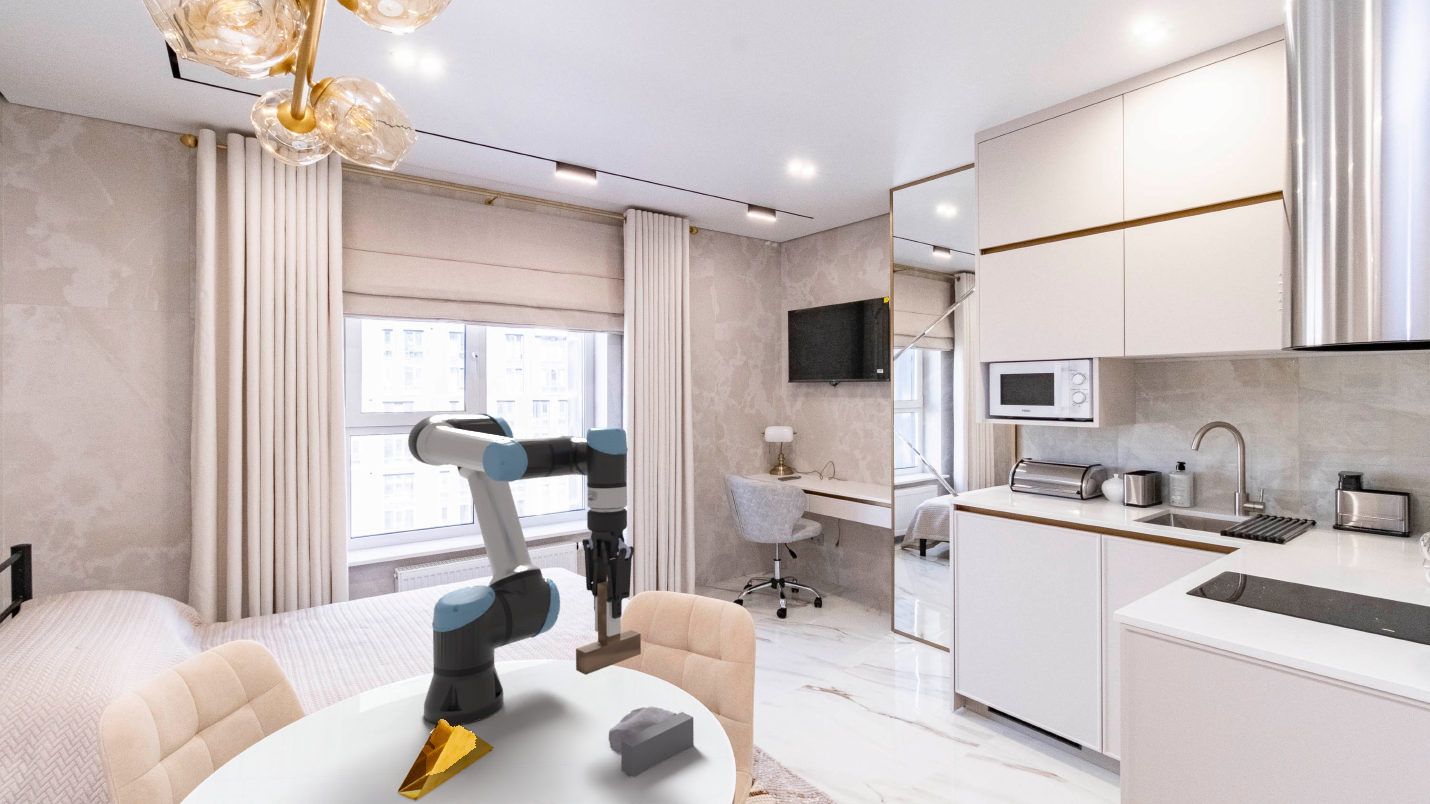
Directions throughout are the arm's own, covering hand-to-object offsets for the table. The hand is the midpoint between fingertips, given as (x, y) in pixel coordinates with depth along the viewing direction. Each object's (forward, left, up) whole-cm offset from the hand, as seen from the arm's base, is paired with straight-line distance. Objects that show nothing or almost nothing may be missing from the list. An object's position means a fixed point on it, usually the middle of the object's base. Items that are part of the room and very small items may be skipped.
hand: (607, 631), depth 122 cm
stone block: (+7, +3, -19) cm, 20 cm away
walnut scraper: (0, 0, -6) cm, 6 cm away
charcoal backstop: (+15, 0, -18) cm, 23 cm away
